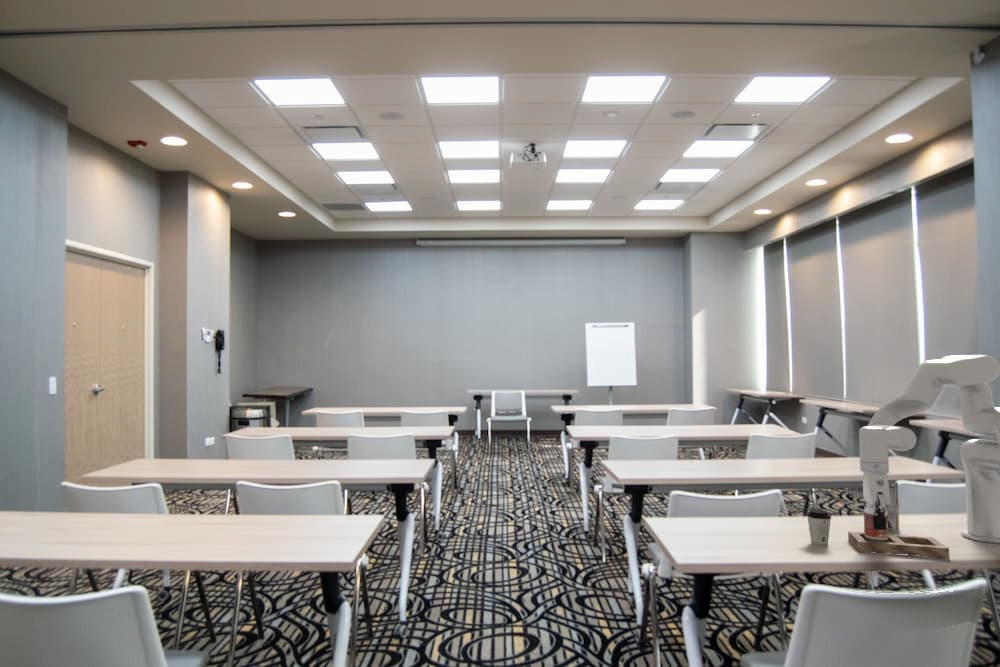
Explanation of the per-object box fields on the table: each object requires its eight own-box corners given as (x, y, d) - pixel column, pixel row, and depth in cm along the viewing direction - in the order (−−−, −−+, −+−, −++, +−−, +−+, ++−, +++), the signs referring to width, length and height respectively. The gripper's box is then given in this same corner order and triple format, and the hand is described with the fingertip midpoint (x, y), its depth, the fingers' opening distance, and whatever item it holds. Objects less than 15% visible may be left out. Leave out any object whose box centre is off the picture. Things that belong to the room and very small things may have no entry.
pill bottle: (881, 542, 180) (880, 504, 180) (860, 536, 185) (859, 500, 185) (892, 538, 183) (891, 502, 183) (871, 534, 188) (870, 498, 189)
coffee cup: (831, 548, 183) (830, 515, 184) (806, 544, 187) (805, 512, 188) (832, 542, 189) (831, 510, 190) (808, 539, 193) (807, 507, 193)
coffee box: (877, 527, 208) (876, 480, 209) (899, 530, 204) (898, 482, 205) (874, 533, 200) (873, 484, 201) (897, 536, 197) (895, 486, 197)
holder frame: (932, 547, 185) (932, 537, 185) (949, 559, 173) (949, 548, 173) (848, 540, 191) (848, 531, 191) (859, 552, 180) (859, 541, 180)
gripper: (898, 472, 176) (900, 535, 175) (879, 463, 192) (880, 520, 191) (869, 471, 178) (870, 532, 177) (852, 462, 194) (854, 518, 193)
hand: (876, 525), depth 184 cm, fingers closed on pill bottle, 6 cm apart
